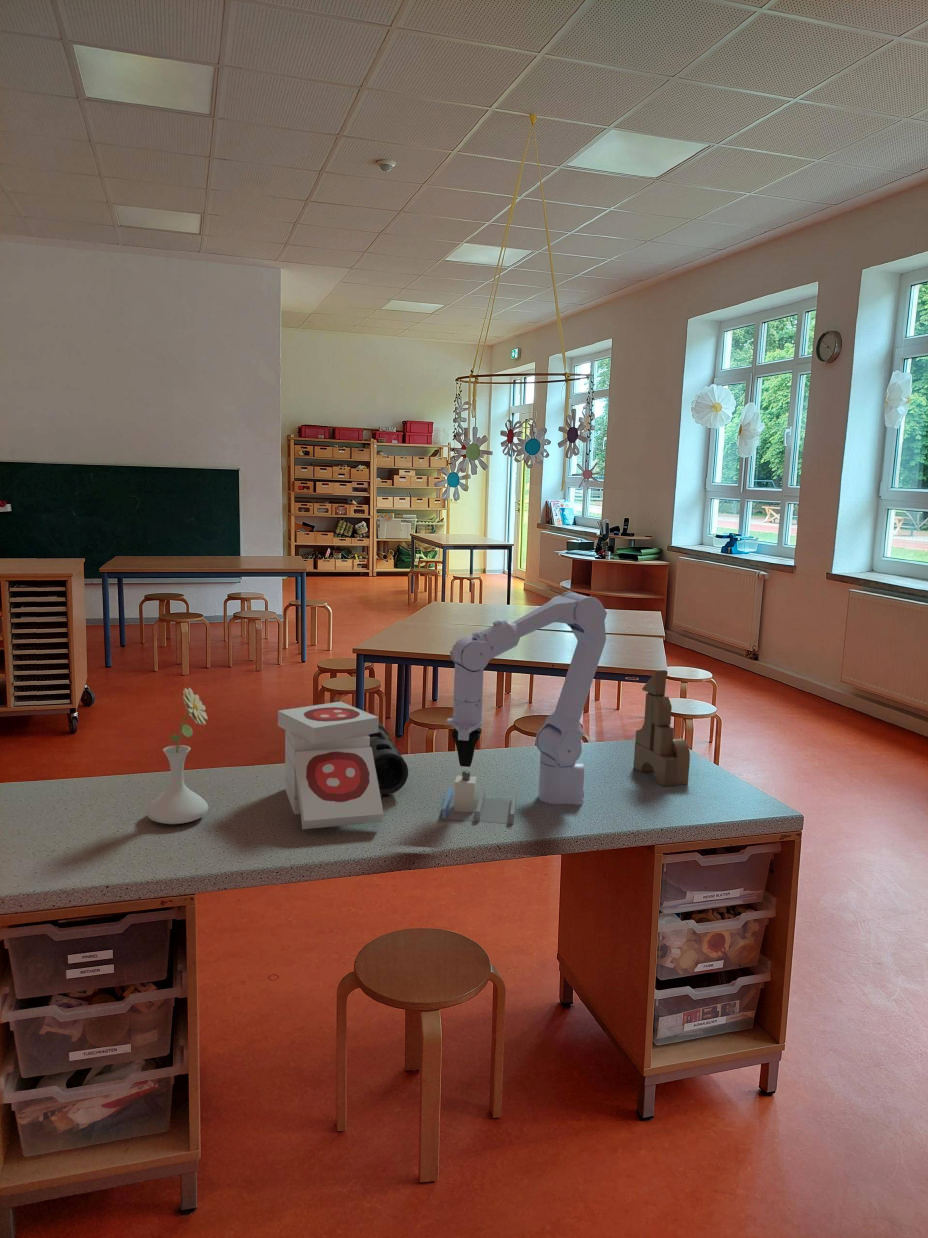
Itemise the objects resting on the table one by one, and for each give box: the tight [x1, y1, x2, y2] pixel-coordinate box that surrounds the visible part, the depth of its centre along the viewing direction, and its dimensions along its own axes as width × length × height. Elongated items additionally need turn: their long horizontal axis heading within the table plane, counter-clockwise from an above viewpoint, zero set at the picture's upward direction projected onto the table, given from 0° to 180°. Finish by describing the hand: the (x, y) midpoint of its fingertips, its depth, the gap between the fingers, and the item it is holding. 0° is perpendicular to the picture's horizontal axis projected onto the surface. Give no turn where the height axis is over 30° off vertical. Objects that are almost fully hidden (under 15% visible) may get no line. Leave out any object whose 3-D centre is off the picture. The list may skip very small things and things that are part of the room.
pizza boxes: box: [277, 701, 385, 830], centre depth 177 cm, size 19×30×18 cm, turn 18°
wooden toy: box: [633, 669, 691, 787], centre depth 204 cm, size 16×7×25 cm, turn 19°
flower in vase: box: [145, 687, 209, 825], centre depth 169 cm, size 13×11×25 cm
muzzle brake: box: [368, 721, 409, 799], centre depth 196 cm, size 10×28×10 cm, turn 16°
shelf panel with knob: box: [441, 785, 518, 825], centre depth 177 cm, size 14×13×3 cm
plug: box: [453, 770, 478, 812], centre depth 177 cm, size 4×4×8 cm
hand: (465, 765), depth 176 cm, fingers closed
